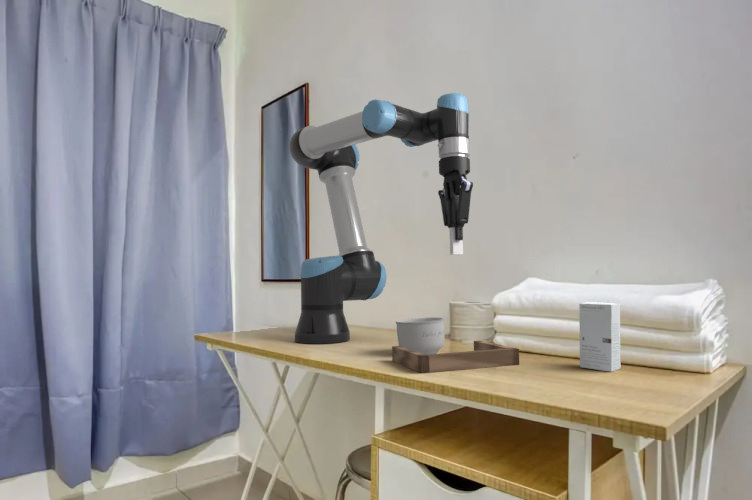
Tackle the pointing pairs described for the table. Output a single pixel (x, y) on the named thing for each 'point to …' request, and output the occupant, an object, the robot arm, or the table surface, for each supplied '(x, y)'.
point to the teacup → (421, 334)
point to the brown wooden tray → (457, 358)
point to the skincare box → (600, 336)
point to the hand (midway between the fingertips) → (456, 254)
